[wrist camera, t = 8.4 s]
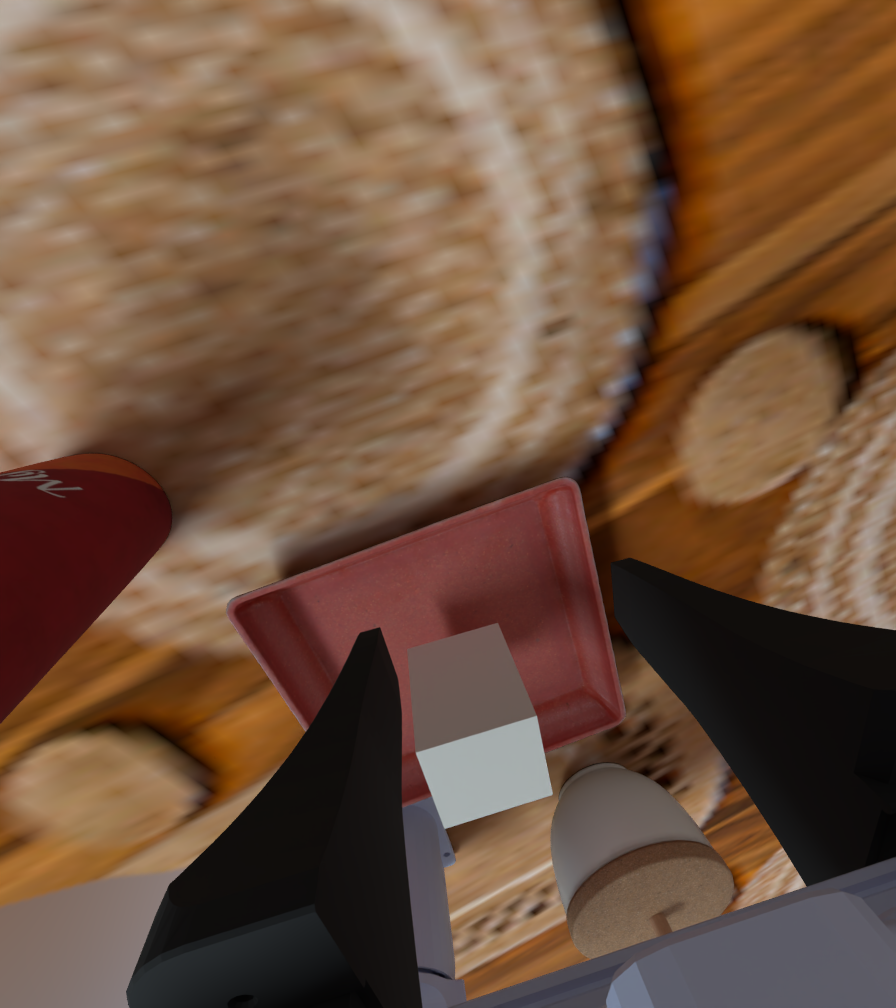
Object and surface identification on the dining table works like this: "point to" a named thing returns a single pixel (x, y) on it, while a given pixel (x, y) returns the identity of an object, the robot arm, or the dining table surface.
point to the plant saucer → (453, 614)
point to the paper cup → (68, 556)
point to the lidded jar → (631, 861)
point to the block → (475, 727)
